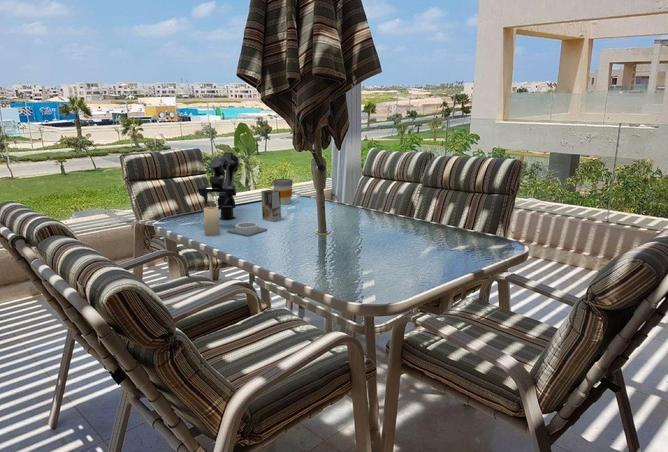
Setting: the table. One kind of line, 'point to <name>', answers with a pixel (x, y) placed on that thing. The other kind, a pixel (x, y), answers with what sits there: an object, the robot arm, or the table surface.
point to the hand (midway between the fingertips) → (214, 204)
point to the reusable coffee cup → (283, 189)
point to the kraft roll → (211, 221)
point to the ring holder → (247, 229)
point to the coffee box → (271, 205)
